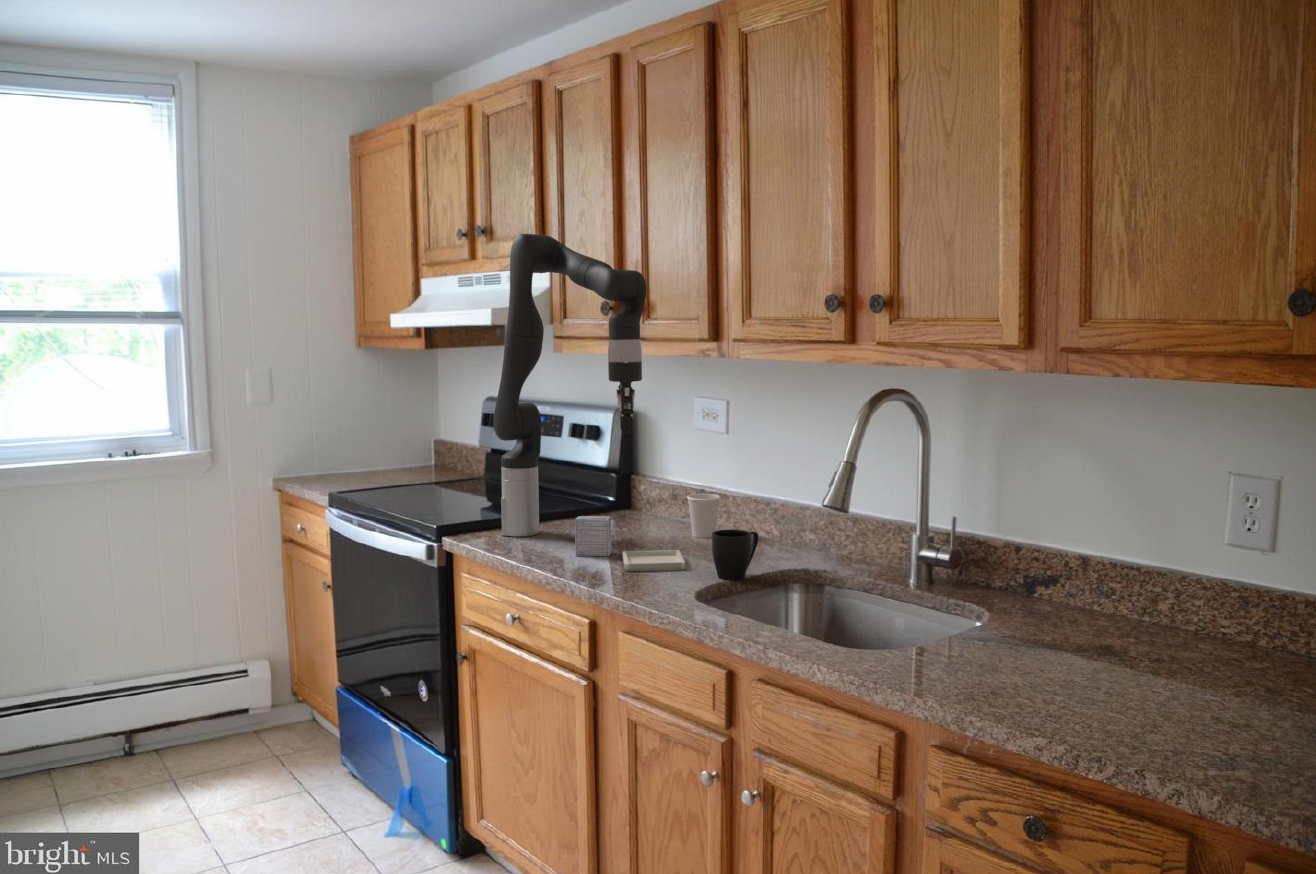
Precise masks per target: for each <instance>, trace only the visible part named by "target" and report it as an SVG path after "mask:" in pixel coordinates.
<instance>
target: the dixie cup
mask: <svg viewBox="0 0 1316 874" xmlns="http://www.w3.org/2000/svg"><path fill="white" fill-rule="evenodd" d="M721 498H722V497H721V495H719V494H714V493H712V494H711V493H694V494H688V495H687V502H688V509H689V511H688V512H689V517H690V518H689V519H690V525H691V534H692V537H694V538H697V539H712V533H713V532H715V531H717V523H718V514H719V507H720V500H721Z"/></svg>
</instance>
